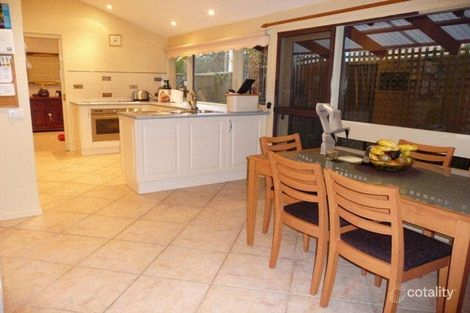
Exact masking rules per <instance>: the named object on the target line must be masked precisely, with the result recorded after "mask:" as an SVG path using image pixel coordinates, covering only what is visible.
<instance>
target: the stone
mask: <svg viewBox="0 0 470 313" xmlns="http://www.w3.org/2000/svg"><path fill="white" fill-rule="evenodd" d="M375 146H376V145H369V146H368V147H367V148H366V149H365V150H366V151H365V152H364V153H363V158H362V161H361V162H360V164H370V163H369V152H370V149H371V148H372V147H375Z"/></svg>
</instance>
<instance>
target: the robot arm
mask: <svg viewBox="0 0 470 313" xmlns="http://www.w3.org/2000/svg"><path fill="white" fill-rule="evenodd" d="M315 110H316V114H317V115H318V117H319V120H320V123H321V126H322V129H323V133H322V134H321V137H322V143H321V145H320V152H319V155H323V156H325V151H335V145H336V144H337V142H338V135H337V134H341V133H345V138H346V142H348V141H349V136H350V135H349V134H350V132H351V127H350V126H348V127H344V126H343V123H342V122H343V121H342V118H341V117H342V111H341V110H340V109H337V108H335V107H334V106H331V103H330V102H329V103H322V102H321V103H320V102H317V103H316V106H315ZM328 116H330V119H331V121H332V124H333V128H334V130H332V128H331V125H330V123H329V121H328Z"/></svg>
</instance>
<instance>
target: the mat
mask: <svg viewBox="0 0 470 313" xmlns="http://www.w3.org/2000/svg"><path fill="white" fill-rule="evenodd" d="M362 159H363V158H361V157H358V156H353V155H341V156H339V155H338V161H340V160H341V161H343V162H348V163H351V164H356V163H361V161H362Z"/></svg>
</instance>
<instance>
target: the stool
mask: <svg viewBox="0 0 470 313" xmlns="http://www.w3.org/2000/svg"><path fill="white" fill-rule="evenodd" d="M339 153H340V152H339V151H336V150H334V151H325V155H324V161H327V159H328V162H331V160H334V159H335V161H339V159H338V157H339Z"/></svg>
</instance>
